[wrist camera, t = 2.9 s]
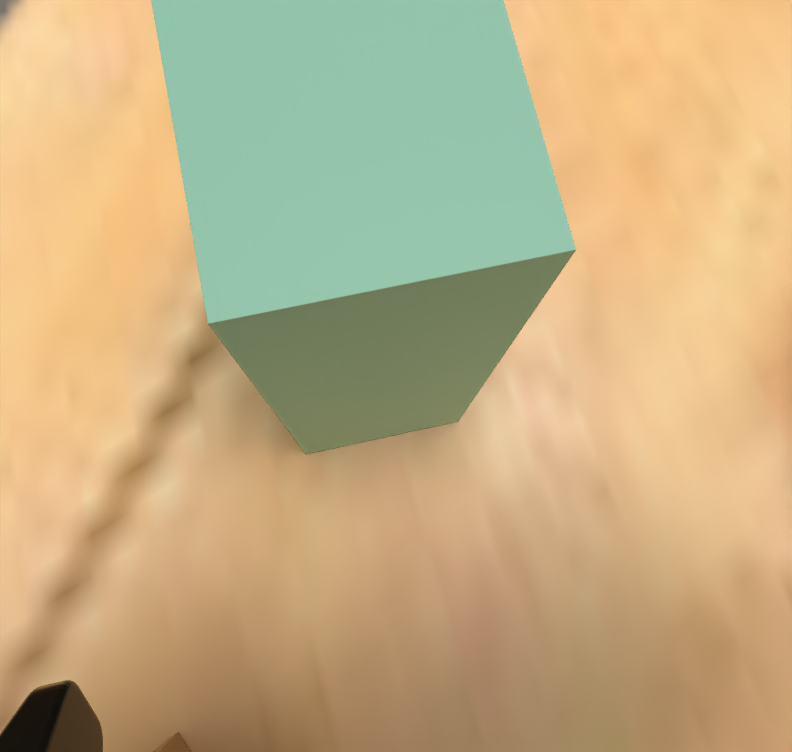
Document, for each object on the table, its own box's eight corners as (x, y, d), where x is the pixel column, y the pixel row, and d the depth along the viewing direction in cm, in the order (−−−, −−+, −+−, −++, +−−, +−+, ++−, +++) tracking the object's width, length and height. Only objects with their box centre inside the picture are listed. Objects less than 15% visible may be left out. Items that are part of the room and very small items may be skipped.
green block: (458, 421, 22) (575, 249, 9) (306, 454, 21) (208, 323, 9) (423, 278, 23) (486, -58, 10) (277, 307, 22) (150, -2, 10)
